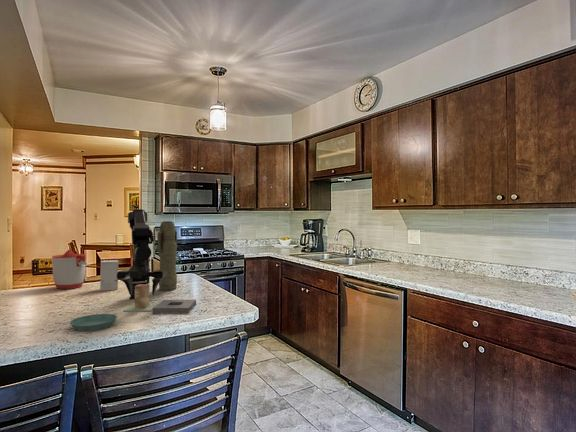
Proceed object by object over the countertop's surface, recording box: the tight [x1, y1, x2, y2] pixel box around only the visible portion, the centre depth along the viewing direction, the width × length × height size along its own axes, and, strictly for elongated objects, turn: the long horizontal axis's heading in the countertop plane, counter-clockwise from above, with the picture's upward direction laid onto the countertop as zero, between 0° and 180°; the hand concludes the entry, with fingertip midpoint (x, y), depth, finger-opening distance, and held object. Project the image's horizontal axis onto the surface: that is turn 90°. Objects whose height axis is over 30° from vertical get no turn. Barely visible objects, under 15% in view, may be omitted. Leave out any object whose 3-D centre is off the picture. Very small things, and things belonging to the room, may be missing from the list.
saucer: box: [69, 313, 118, 332], centre depth 132 cm, size 15×15×3 cm
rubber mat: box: [123, 303, 158, 313], centre depth 156 cm, size 11×11×1 cm
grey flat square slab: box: [152, 299, 197, 314], centre depth 155 cm, size 14×14×2 cm
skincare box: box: [99, 259, 119, 292], centre depth 194 cm, size 8×6×15 cm
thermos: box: [156, 220, 178, 292], centre depth 195 cm, size 9×12×35 cm
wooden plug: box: [134, 283, 150, 308], centre depth 156 cm, size 4×4×9 cm
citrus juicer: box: [51, 249, 88, 290], centre depth 200 cm, size 16×17×20 cm
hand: (142, 294), depth 156 cm, fingers open, 9 cm apart
